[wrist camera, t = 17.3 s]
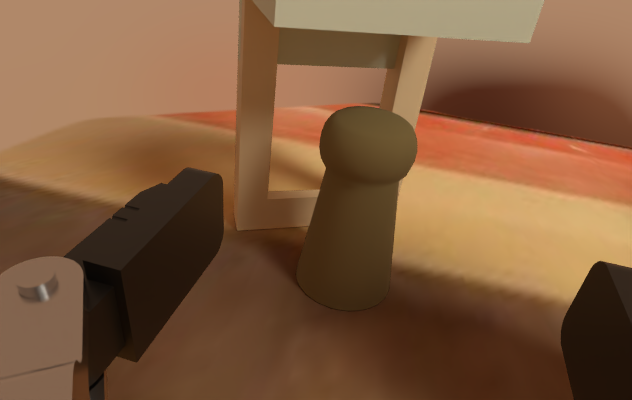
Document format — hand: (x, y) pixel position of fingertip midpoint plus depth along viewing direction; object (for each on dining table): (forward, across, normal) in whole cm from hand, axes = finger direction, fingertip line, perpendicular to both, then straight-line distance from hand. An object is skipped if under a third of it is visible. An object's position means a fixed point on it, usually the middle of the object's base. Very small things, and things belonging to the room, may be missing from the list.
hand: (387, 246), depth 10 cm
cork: (+14, +2, +14) cm, 20 cm away
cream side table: (+16, +4, +14) cm, 22 cm away
